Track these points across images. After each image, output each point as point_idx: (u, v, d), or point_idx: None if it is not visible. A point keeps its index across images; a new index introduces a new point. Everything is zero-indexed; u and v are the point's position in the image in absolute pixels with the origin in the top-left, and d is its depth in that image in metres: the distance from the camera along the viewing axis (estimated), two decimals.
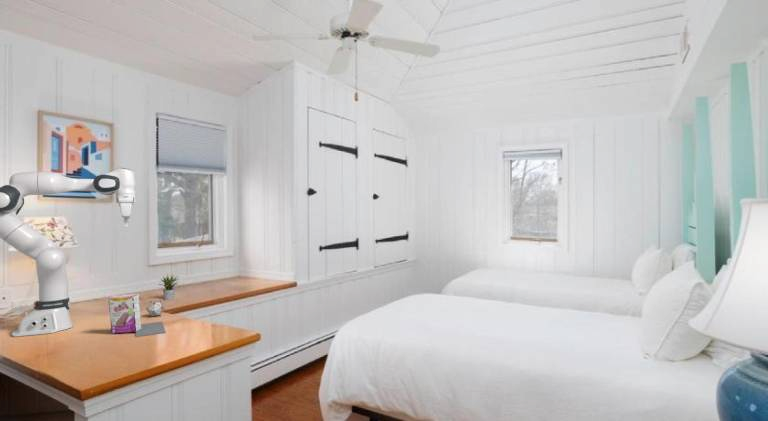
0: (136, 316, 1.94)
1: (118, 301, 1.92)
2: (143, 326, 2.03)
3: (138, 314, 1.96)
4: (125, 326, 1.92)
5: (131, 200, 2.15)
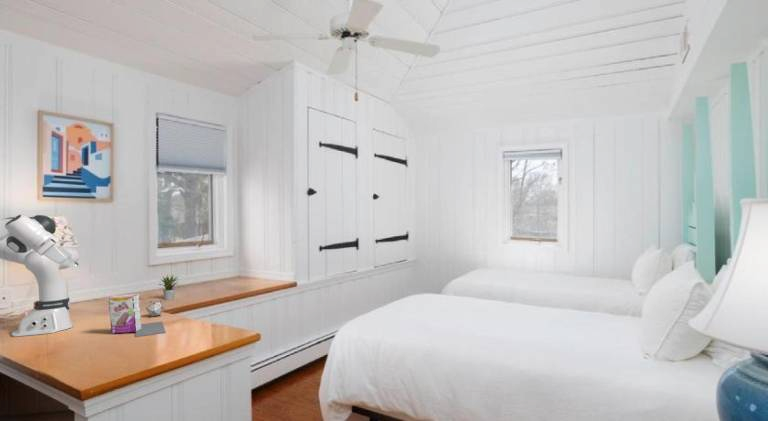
0: (136, 316, 1.94)
1: (118, 301, 1.92)
2: (143, 326, 2.03)
3: (138, 314, 1.96)
4: (125, 326, 1.92)
5: (51, 243, 1.75)
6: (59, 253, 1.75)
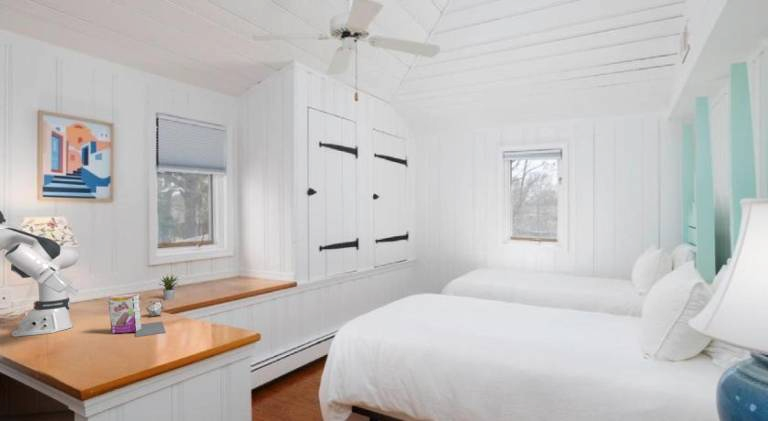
0: (136, 316, 1.94)
1: (118, 301, 1.92)
2: (143, 326, 2.03)
3: (138, 314, 1.96)
4: (125, 326, 1.92)
5: (50, 271, 1.75)
6: (59, 282, 1.75)
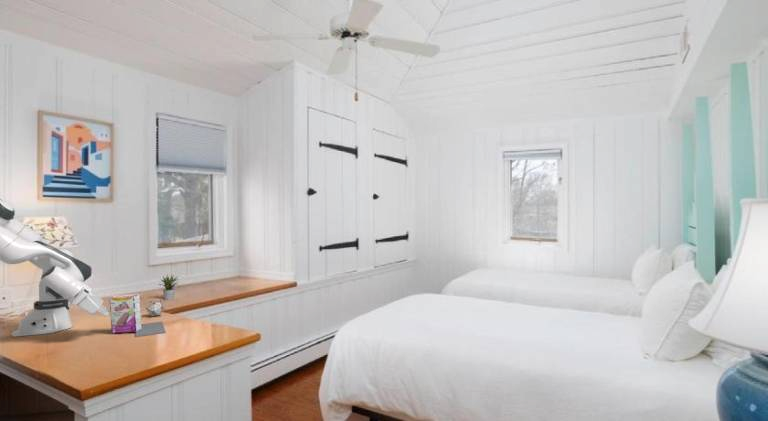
0: (136, 316, 1.94)
1: (119, 300, 1.92)
2: (143, 326, 2.03)
3: (138, 314, 1.96)
4: (125, 326, 1.93)
5: (84, 294, 1.80)
6: (92, 304, 1.80)
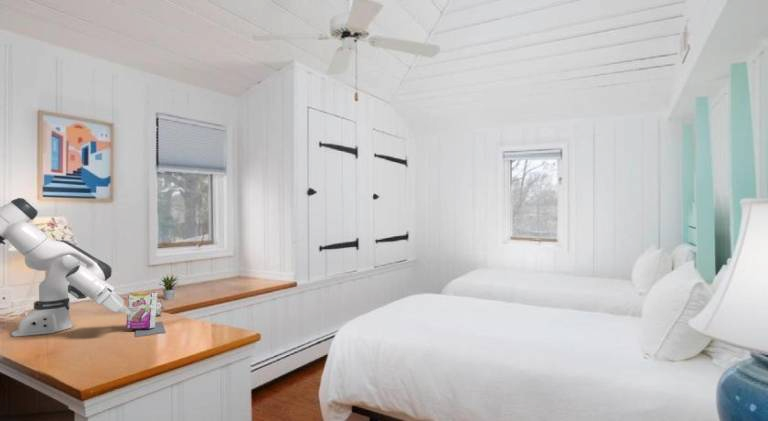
0: (152, 313, 1.98)
1: (137, 296, 1.98)
2: None
3: (154, 312, 1.99)
4: (140, 321, 1.96)
5: (108, 293, 1.84)
6: (116, 302, 1.84)
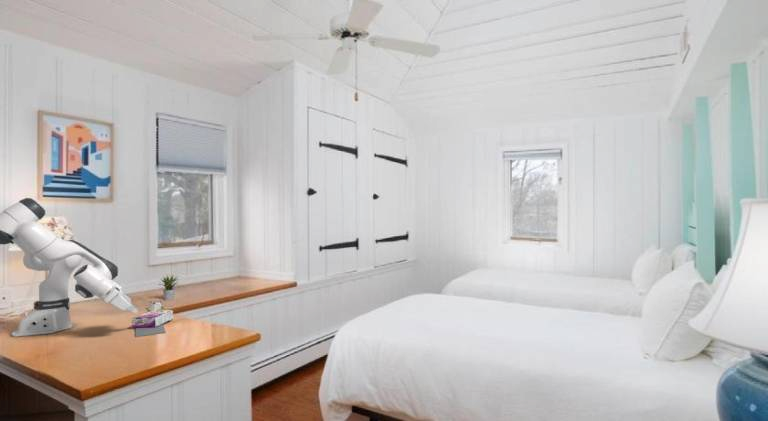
0: (163, 316, 2.07)
1: (158, 310, 2.15)
2: None
3: (163, 319, 2.07)
4: (149, 315, 2.03)
5: (116, 292, 1.86)
6: (124, 301, 1.86)
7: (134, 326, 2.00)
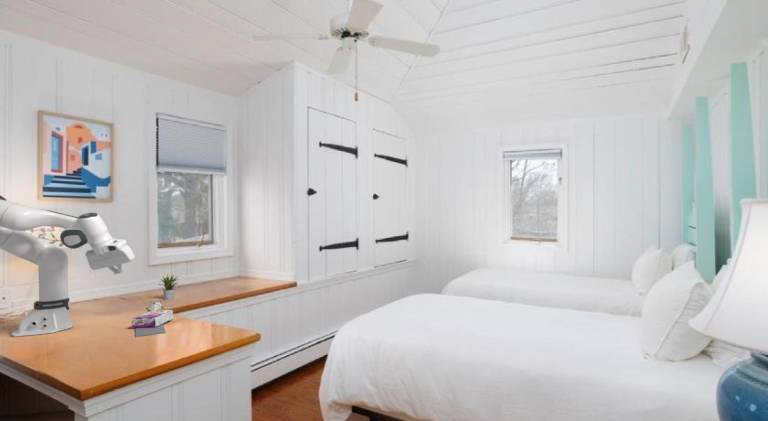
0: (163, 316, 2.07)
1: (158, 310, 2.15)
2: None
3: (163, 319, 2.07)
4: (149, 315, 2.03)
5: (125, 241, 1.93)
6: (132, 252, 1.94)
7: (134, 326, 2.00)
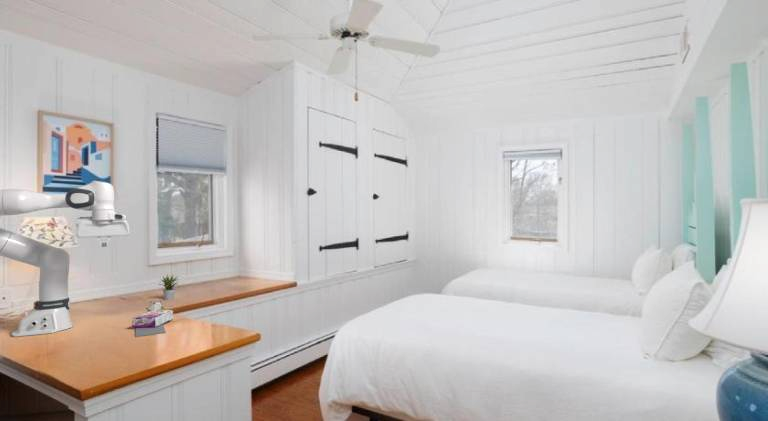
0: (163, 316, 2.07)
1: (158, 310, 2.15)
2: None
3: (163, 319, 2.07)
4: (149, 315, 2.03)
5: None
6: None
7: (134, 326, 2.00)
